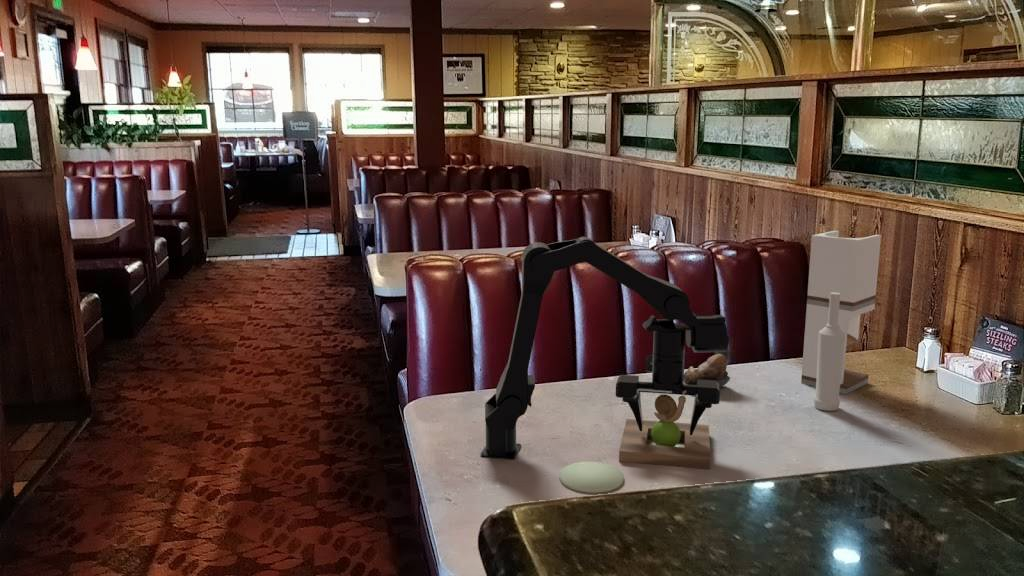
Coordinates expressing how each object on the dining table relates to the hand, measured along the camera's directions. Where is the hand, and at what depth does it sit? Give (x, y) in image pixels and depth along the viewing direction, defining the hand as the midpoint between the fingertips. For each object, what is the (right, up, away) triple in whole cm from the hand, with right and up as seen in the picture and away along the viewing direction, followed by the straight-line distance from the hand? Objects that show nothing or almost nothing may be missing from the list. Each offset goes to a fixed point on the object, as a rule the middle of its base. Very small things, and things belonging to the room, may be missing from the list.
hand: (665, 432), depth 147 cm
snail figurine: (0, -3, 0) cm, 3 cm away
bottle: (+39, +1, +21) cm, 44 cm away
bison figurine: (+15, +4, +33) cm, 37 cm away
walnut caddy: (0, -3, +1) cm, 3 cm away
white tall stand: (+47, +5, +36) cm, 59 cm away
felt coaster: (-15, -6, -12) cm, 20 cm away
